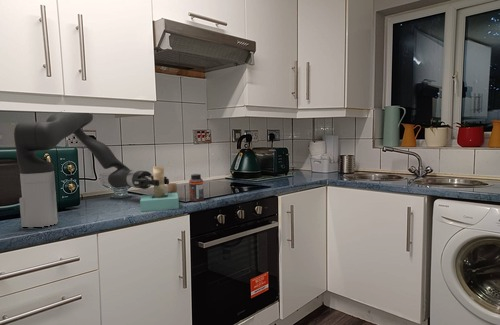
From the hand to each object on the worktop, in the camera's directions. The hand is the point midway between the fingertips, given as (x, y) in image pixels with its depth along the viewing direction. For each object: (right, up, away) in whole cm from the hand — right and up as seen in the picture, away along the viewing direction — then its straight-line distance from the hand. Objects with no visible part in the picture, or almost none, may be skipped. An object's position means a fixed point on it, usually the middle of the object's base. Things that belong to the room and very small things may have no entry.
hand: (163, 182), depth 130 cm
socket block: (-2, -10, +3) cm, 10 cm away
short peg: (0, -9, +16) cm, 18 cm away
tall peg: (-2, -8, +2) cm, 8 cm away
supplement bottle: (+11, -9, +13) cm, 19 cm away
